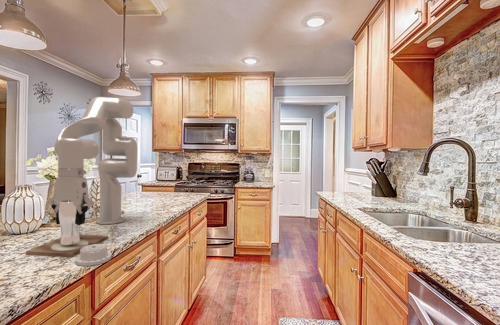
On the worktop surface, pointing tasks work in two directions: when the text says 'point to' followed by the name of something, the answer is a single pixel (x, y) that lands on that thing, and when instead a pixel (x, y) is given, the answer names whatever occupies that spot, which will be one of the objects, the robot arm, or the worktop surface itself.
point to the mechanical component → (93, 255)
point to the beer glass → (68, 223)
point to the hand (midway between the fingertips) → (70, 223)
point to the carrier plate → (66, 246)
